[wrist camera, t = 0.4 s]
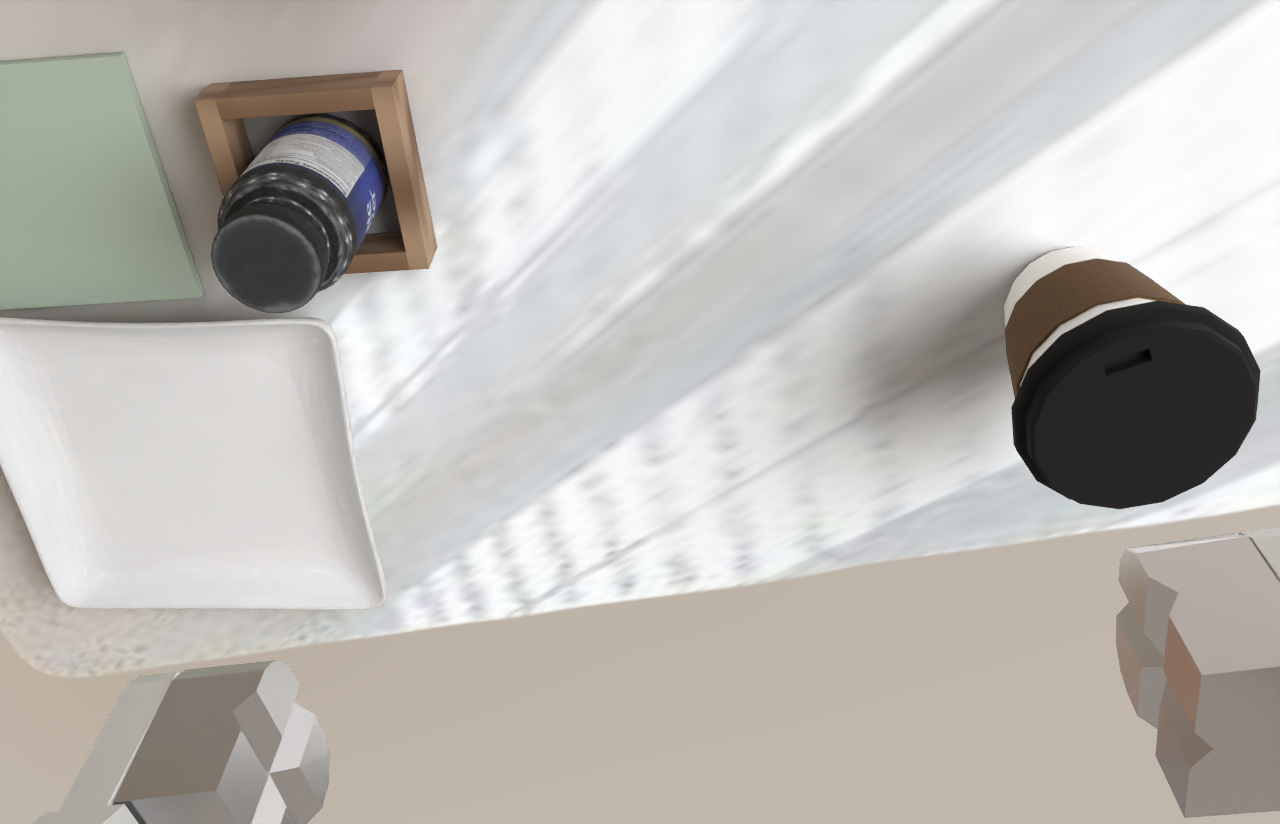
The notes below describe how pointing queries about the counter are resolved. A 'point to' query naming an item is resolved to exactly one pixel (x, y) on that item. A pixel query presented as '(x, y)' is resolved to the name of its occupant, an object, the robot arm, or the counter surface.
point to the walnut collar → (325, 94)
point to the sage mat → (84, 190)
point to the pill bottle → (298, 213)
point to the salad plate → (187, 464)
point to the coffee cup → (1121, 382)
